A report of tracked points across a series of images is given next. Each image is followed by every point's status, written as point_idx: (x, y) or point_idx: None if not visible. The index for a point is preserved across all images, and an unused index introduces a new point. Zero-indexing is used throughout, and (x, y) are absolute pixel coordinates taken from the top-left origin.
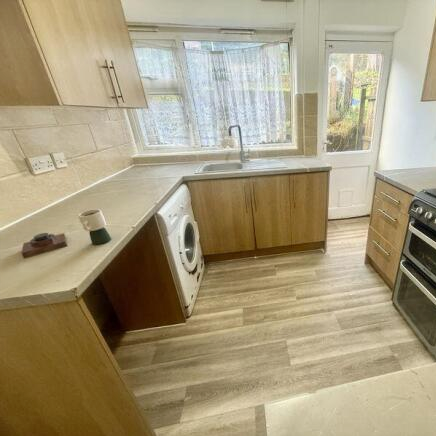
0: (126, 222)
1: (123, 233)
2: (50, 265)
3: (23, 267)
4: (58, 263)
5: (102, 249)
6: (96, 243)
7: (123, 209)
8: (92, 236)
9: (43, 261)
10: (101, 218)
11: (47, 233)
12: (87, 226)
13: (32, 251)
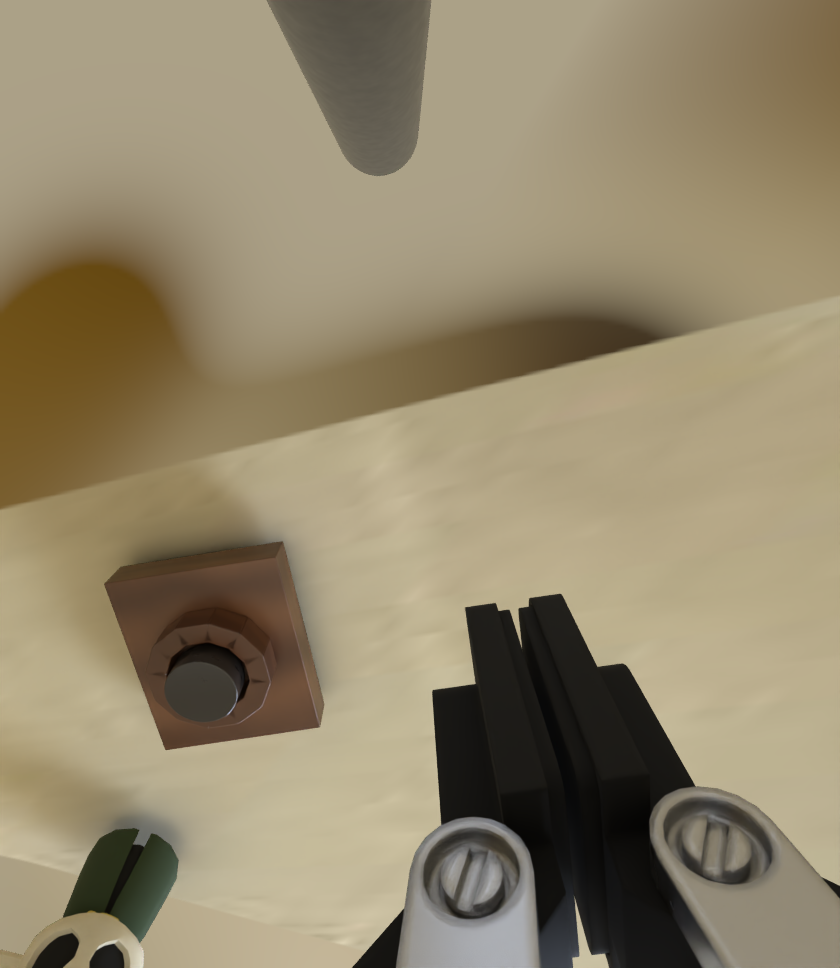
0: None
1: (250, 907)
2: (4, 674)
3: (41, 569)
4: (11, 701)
5: (85, 842)
6: (88, 857)
7: None
8: (75, 892)
9: (71, 638)
10: None
11: (211, 720)
12: None
13: (121, 620)
